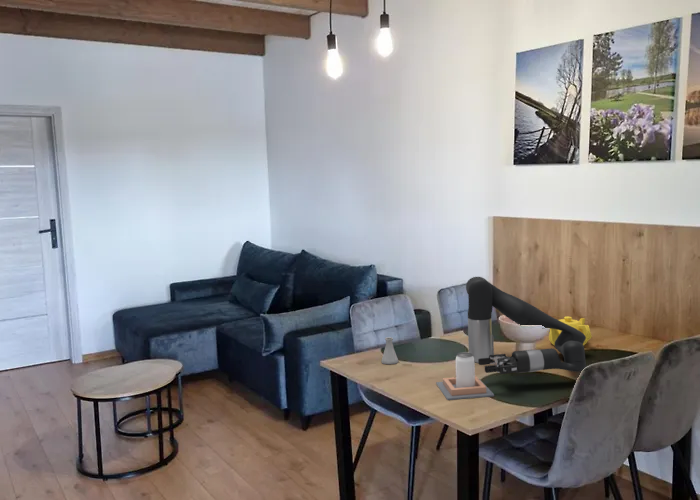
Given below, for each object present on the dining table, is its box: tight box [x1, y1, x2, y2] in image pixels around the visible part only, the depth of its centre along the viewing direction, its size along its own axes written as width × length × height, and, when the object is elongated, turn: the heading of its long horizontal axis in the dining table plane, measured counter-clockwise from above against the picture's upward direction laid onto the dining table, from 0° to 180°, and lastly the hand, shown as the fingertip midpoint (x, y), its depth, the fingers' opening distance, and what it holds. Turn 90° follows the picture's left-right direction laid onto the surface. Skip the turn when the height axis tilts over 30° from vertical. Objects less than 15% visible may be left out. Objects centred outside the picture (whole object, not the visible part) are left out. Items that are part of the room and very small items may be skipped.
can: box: [455, 351, 476, 388], centre depth 210 cm, size 6×6×12 cm
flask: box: [380, 336, 400, 365], centre depth 245 cm, size 7×7×10 cm
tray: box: [435, 375, 495, 401], centre depth 210 cm, size 16×16×3 cm
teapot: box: [548, 315, 593, 347], centre depth 257 cm, size 17×17×12 cm
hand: (481, 365), depth 210 cm, fingers open, 8 cm apart
